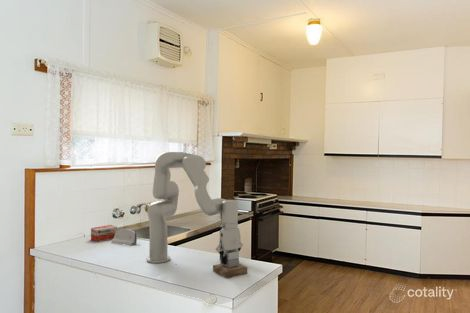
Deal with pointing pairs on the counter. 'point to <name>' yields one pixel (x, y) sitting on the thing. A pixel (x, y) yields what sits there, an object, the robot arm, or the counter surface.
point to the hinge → (125, 237)
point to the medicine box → (103, 232)
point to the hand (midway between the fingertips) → (229, 262)
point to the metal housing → (231, 258)
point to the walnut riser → (229, 270)
